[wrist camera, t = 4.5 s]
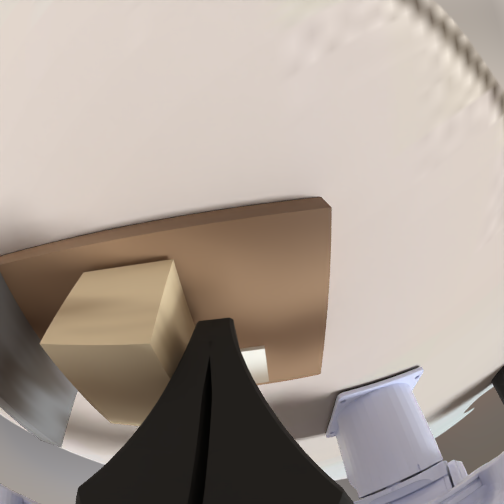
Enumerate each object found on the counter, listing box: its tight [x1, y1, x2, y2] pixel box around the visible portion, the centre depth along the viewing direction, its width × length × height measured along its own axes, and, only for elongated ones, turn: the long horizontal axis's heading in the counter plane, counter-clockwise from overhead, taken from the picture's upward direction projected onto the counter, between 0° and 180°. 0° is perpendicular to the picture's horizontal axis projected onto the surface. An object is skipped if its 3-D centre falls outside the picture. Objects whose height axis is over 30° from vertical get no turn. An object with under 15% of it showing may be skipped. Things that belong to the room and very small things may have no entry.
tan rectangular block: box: [40, 259, 195, 426], centre depth 10 cm, size 8×4×4 cm, turn 7°
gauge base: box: [0, 197, 331, 447], centre depth 10 cm, size 10×18×6 cm, turn 97°
